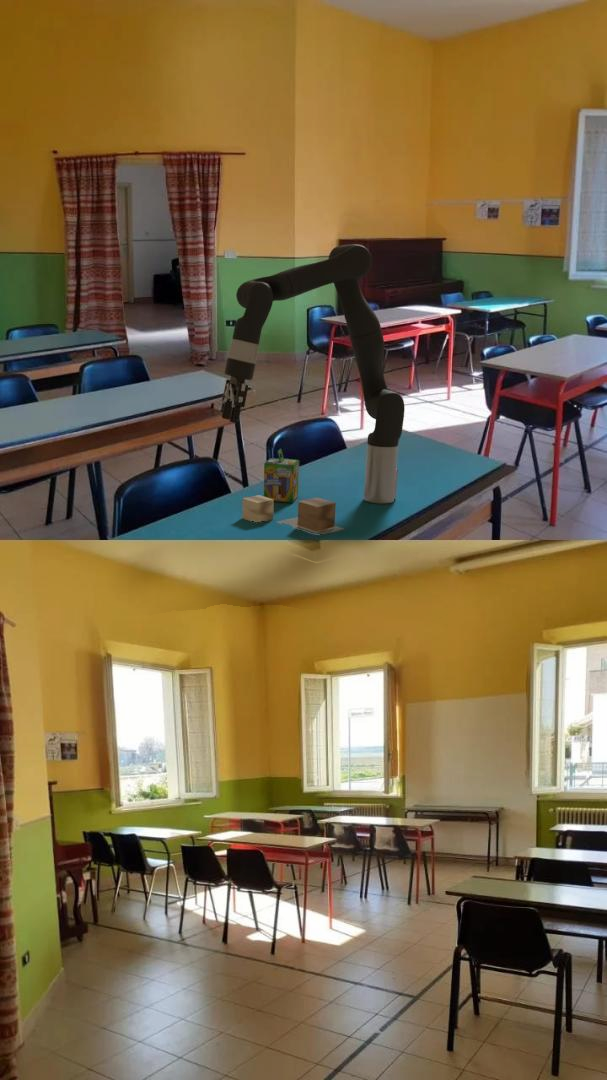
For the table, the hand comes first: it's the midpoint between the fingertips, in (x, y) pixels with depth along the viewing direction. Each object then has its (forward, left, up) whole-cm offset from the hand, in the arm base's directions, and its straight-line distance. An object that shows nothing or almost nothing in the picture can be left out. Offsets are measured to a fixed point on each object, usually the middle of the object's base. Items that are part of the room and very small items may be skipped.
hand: (229, 420), depth 220 cm
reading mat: (-13, +19, -27) cm, 35 cm away
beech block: (-6, +6, -27) cm, 28 cm away
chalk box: (-27, -7, -27) cm, 39 cm away
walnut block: (-13, +21, -27) cm, 36 cm away
